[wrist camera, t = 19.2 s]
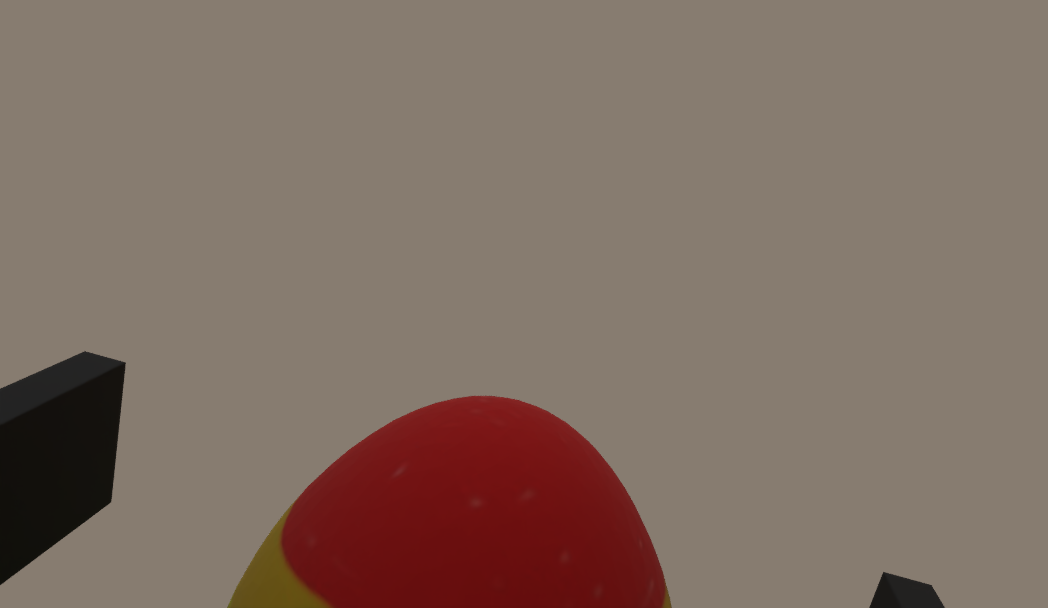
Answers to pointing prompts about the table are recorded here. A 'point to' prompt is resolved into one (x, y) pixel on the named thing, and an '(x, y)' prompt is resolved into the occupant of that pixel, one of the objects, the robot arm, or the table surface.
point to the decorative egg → (461, 521)
